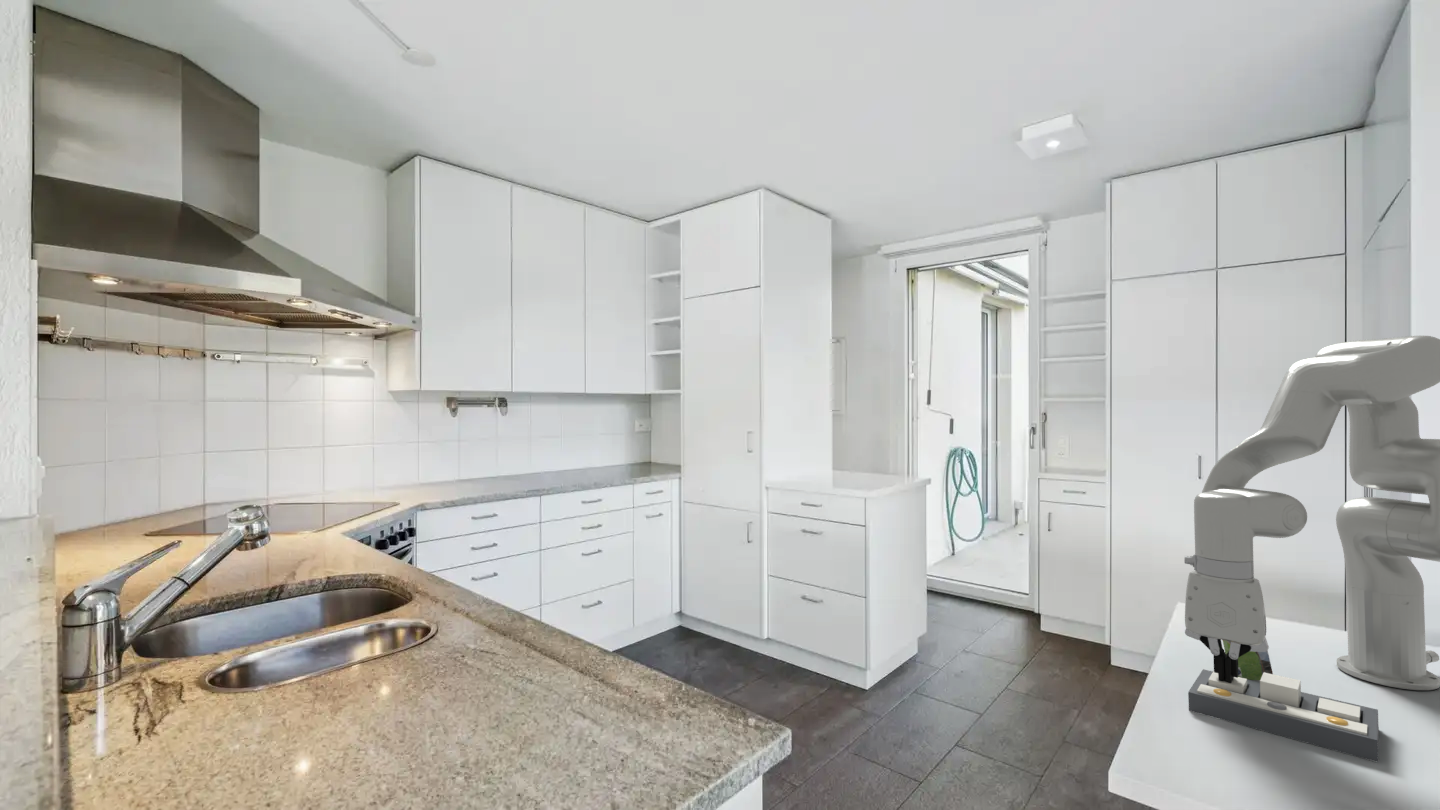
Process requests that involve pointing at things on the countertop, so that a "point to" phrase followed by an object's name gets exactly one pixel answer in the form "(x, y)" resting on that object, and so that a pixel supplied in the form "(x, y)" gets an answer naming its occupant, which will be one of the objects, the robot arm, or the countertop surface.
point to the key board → (1288, 717)
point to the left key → (1229, 684)
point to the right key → (1339, 709)
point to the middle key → (1280, 689)
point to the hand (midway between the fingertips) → (1226, 679)
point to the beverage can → (1251, 664)
